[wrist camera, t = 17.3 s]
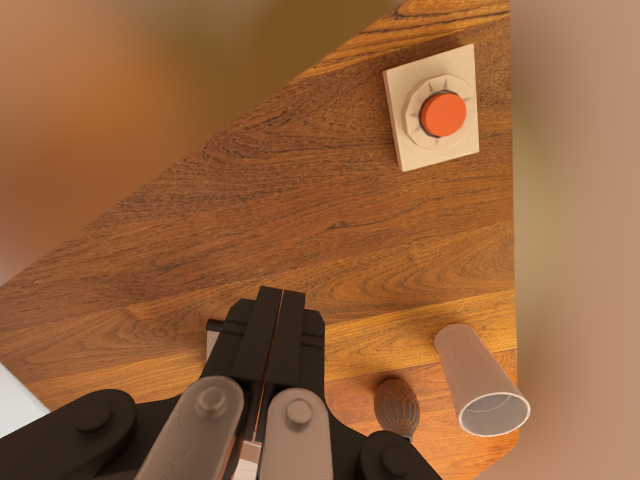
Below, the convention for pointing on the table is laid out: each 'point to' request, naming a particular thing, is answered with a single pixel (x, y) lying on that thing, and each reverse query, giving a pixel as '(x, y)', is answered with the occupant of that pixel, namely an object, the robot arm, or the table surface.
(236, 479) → the dish
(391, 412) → the vase
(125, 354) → the table surface
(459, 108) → the power button
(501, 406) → the cup
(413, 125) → the block
